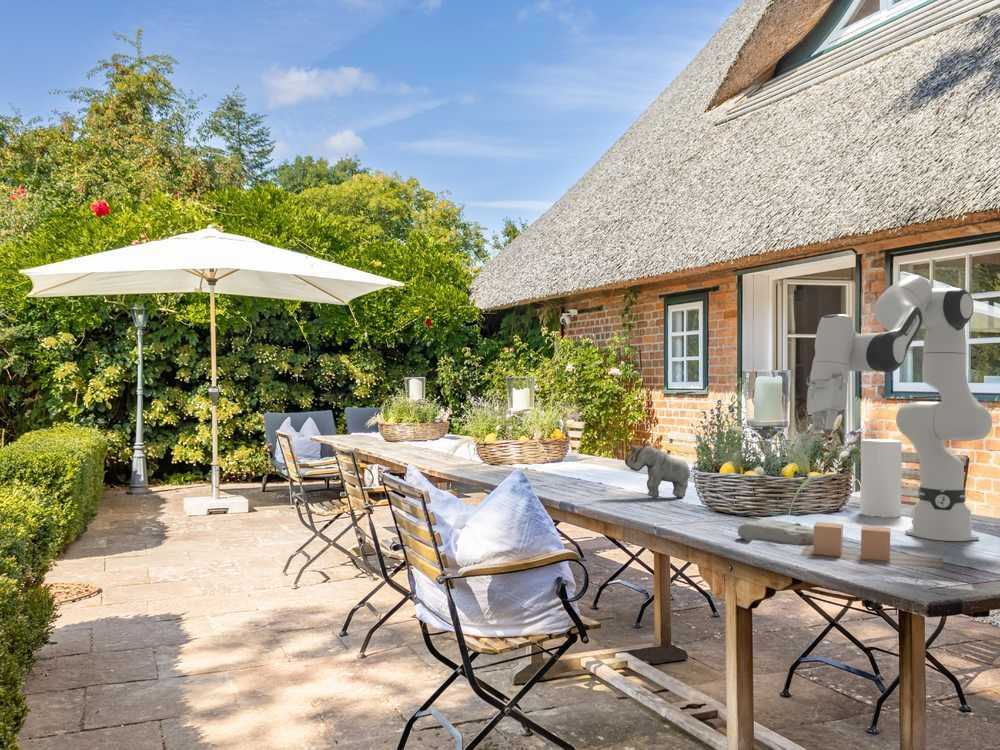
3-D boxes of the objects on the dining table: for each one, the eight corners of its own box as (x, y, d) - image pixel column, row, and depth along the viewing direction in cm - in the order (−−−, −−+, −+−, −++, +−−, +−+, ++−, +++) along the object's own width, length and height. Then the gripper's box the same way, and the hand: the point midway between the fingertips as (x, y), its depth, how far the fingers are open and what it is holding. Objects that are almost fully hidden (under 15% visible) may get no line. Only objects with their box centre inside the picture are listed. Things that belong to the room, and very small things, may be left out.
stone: (735, 540, 240) (735, 521, 240) (761, 533, 251) (761, 515, 251) (808, 552, 225) (808, 532, 225) (832, 544, 236) (833, 525, 236)
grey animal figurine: (683, 495, 329) (684, 443, 329) (692, 499, 320) (693, 445, 320) (621, 496, 324) (621, 443, 324) (628, 500, 315) (629, 445, 315)
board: (805, 550, 225) (805, 546, 225) (942, 563, 211) (942, 558, 211) (800, 559, 213) (800, 555, 213) (944, 573, 199) (944, 568, 199)
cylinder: (909, 516, 283) (910, 441, 284) (876, 518, 280) (877, 441, 281) (883, 511, 296) (884, 438, 296) (852, 512, 293) (853, 439, 293)
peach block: (815, 549, 221) (816, 522, 221) (842, 551, 218) (842, 524, 218) (813, 553, 215) (813, 525, 215) (840, 556, 212) (841, 528, 212)
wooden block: (862, 553, 216) (862, 525, 216) (890, 555, 213) (890, 527, 213) (860, 558, 210) (861, 529, 210) (889, 560, 207) (889, 531, 207)
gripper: (856, 372, 205) (850, 429, 204) (829, 383, 225) (823, 435, 224) (830, 368, 206) (823, 425, 204) (805, 379, 226) (798, 431, 224)
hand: (822, 430), depth 214 cm, fingers open, 8 cm apart
